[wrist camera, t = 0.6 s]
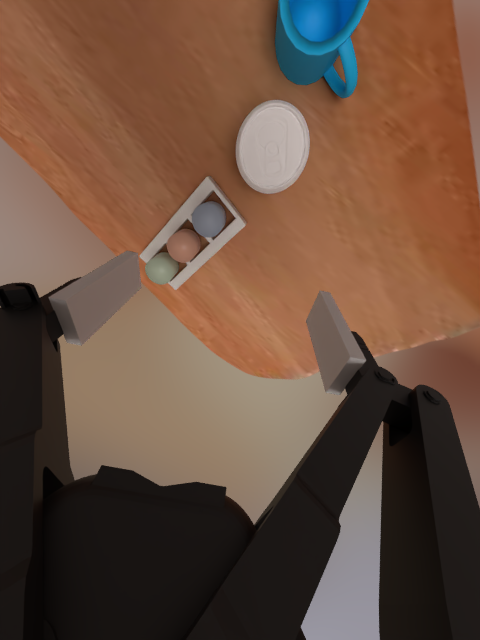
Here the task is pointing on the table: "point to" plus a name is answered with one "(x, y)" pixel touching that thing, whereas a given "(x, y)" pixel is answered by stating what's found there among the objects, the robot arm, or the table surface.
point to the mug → (318, 41)
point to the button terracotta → (183, 245)
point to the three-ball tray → (186, 213)
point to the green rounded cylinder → (161, 268)
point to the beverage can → (272, 146)
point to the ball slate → (209, 219)
